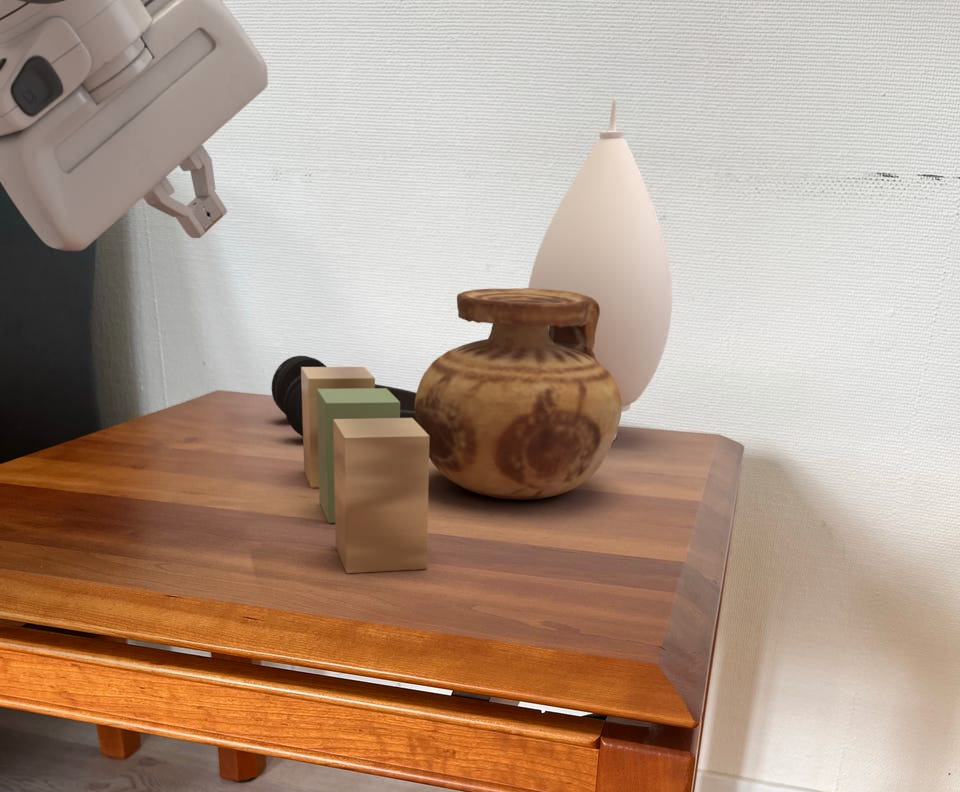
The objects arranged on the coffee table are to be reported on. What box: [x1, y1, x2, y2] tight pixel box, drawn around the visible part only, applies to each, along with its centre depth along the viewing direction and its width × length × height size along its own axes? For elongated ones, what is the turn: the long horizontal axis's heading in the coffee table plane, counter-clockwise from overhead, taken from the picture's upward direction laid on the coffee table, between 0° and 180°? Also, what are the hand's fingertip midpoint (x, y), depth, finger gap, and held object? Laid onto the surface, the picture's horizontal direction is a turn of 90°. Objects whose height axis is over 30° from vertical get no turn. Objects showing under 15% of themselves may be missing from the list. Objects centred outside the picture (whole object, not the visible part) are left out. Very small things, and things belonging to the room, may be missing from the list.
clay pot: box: [415, 287, 622, 501], centre depth 94 cm, size 19×19×20 cm
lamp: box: [527, 97, 673, 436], centre depth 112 cm, size 16×16×35 cm
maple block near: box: [333, 418, 430, 574], centre depth 76 cm, size 6×6×10 cm
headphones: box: [271, 355, 417, 437], centre depth 117 cm, size 17×7×20 cm
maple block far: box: [301, 366, 376, 489], centre depth 96 cm, size 6×6×10 cm
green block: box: [317, 388, 400, 524], centre depth 86 cm, size 6×6×10 cm
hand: (209, 225), depth 73 cm, fingers closed
